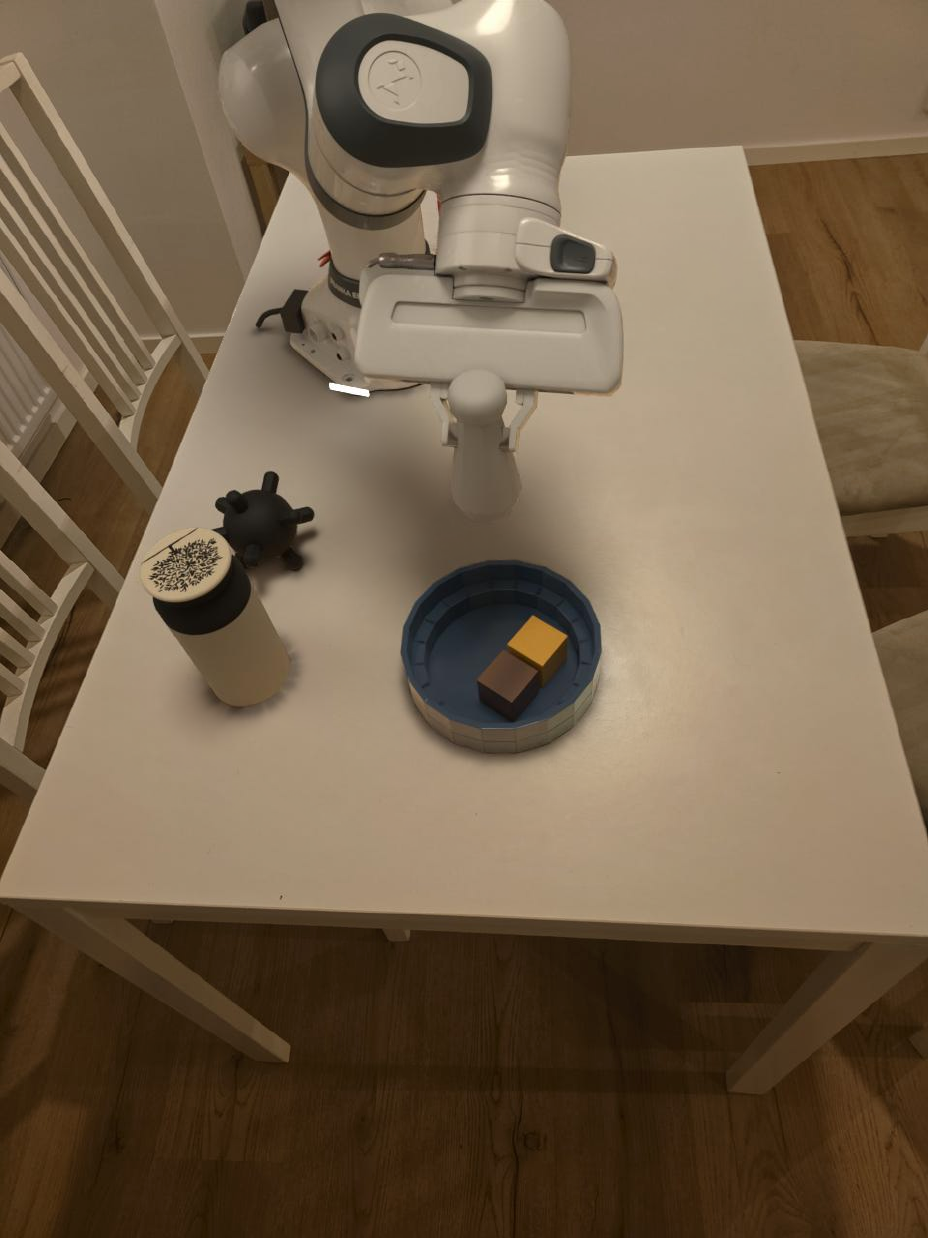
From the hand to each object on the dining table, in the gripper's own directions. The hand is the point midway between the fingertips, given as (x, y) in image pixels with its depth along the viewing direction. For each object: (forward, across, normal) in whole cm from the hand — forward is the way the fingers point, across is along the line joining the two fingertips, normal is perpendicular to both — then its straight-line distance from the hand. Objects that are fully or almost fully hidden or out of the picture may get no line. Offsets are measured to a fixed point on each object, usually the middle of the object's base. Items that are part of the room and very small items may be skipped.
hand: (479, 449), depth 62 cm
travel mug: (+24, -23, +10) cm, 34 cm away
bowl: (+20, +2, +13) cm, 24 cm away
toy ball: (+13, -26, +20) cm, 36 cm away
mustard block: (+20, +5, +13) cm, 24 cm away
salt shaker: (+5, 0, +6) cm, 7 cm away
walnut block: (+22, +3, +10) cm, 25 cm away
